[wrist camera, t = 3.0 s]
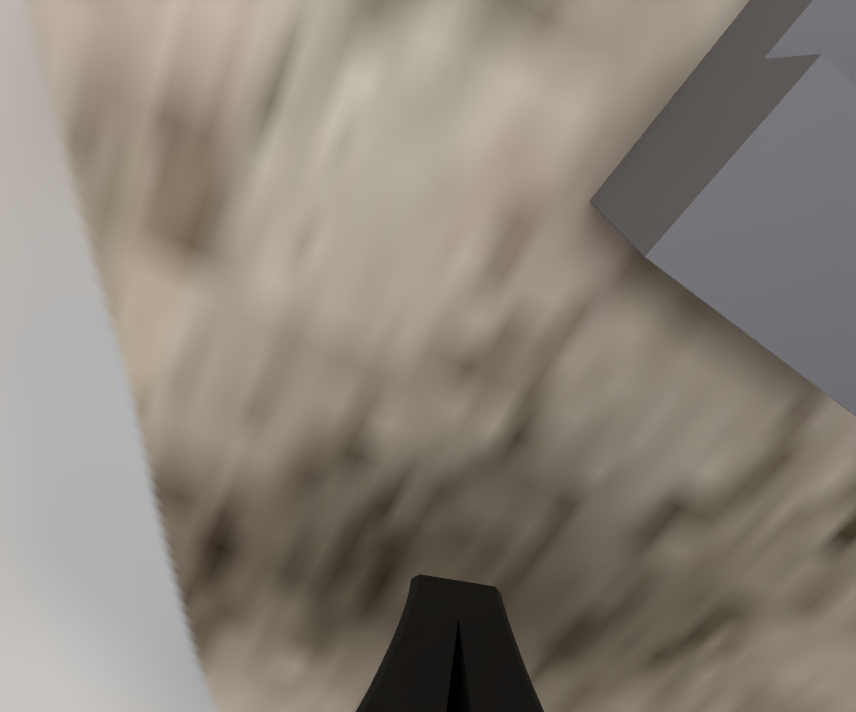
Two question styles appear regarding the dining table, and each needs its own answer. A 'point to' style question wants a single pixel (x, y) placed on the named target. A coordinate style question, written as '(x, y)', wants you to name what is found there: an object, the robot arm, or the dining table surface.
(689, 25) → the dining table surface
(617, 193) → the grey stepped block
